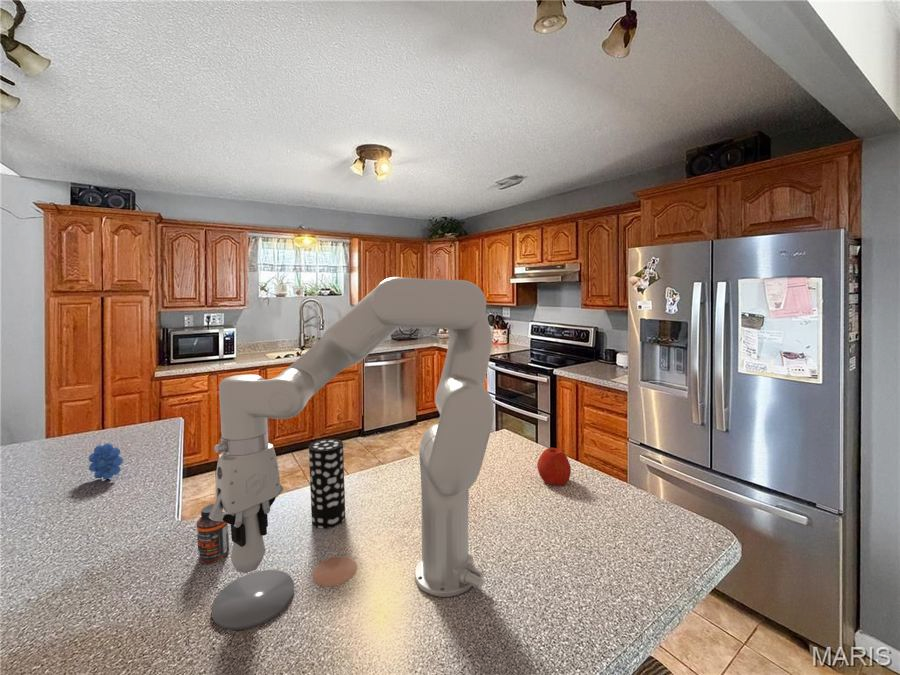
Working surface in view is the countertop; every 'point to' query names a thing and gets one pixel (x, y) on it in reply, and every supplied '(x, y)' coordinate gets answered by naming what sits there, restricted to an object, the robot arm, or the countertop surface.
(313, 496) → the spotted tube
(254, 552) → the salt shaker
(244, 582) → the slate plate
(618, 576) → the countertop surface
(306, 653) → the countertop surface
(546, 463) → the apple
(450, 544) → the robot arm
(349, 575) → the terracotta spot
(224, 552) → the supplement bottle
